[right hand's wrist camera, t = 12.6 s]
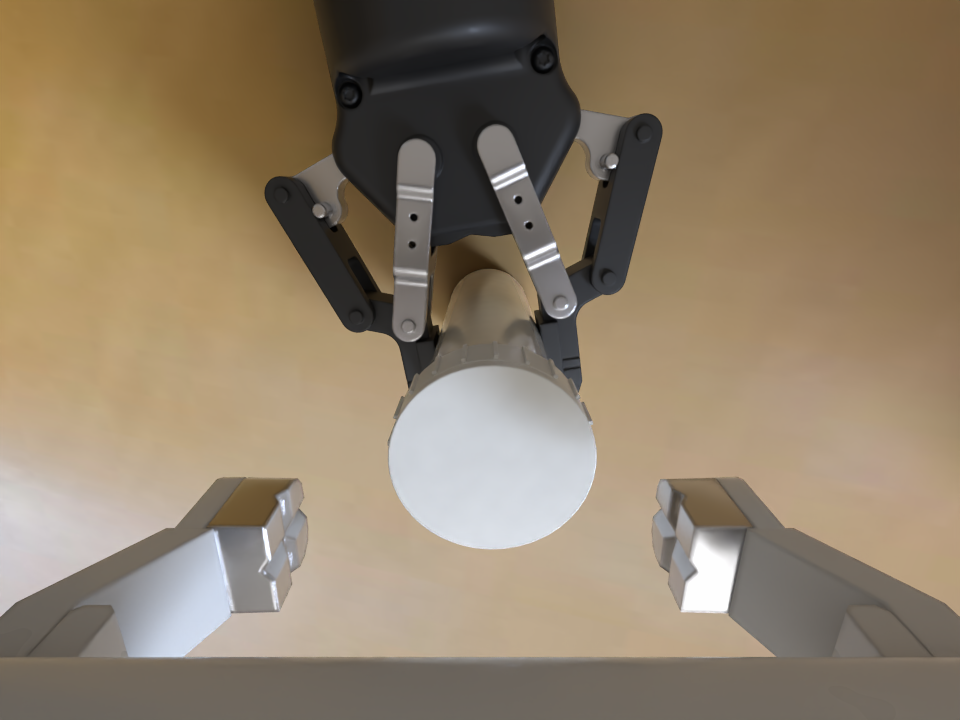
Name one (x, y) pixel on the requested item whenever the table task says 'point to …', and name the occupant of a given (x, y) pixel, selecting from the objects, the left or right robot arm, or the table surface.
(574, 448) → the lid
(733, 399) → the table surface
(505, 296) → the bottle
